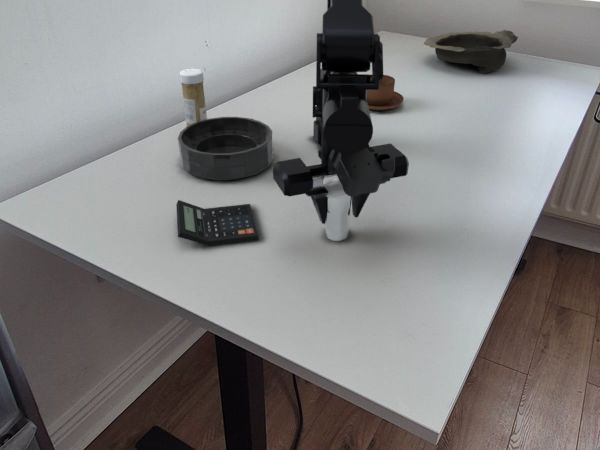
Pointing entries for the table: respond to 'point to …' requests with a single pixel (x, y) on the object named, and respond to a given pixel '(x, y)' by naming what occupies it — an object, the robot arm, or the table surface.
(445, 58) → the stone bowl
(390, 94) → the cup and saucer
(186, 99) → the sprinkles bottle
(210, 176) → the dark round bowl
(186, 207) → the calculator
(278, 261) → the table surface
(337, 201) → the milkshake
